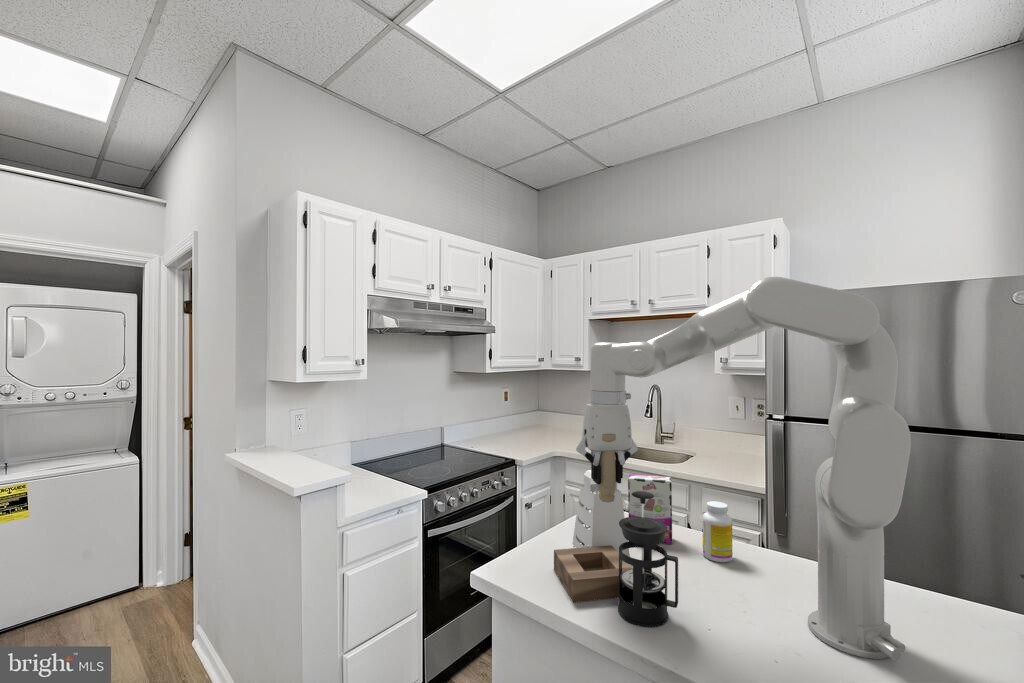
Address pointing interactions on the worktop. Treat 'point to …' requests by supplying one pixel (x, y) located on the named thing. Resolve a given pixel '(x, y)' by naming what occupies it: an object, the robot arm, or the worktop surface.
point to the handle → (607, 472)
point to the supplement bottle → (717, 532)
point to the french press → (644, 571)
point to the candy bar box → (652, 500)
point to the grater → (598, 518)
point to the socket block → (589, 572)
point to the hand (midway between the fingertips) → (606, 481)
